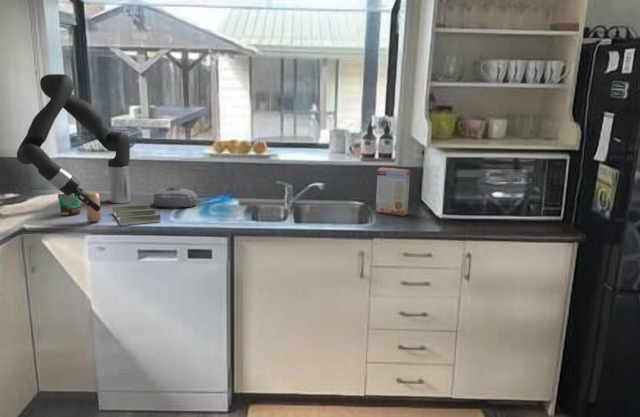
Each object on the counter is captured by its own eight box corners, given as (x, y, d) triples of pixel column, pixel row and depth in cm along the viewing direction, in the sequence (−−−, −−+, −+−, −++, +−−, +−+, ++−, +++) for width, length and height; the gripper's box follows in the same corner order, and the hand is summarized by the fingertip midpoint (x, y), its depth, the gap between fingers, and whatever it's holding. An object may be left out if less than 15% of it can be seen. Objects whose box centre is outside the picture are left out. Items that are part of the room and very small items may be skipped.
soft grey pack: (151, 208, 262) (194, 209, 262) (150, 190, 260) (194, 191, 260) (159, 201, 277) (200, 202, 277) (159, 184, 275) (200, 185, 275)
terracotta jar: (86, 218, 237) (84, 192, 234) (100, 217, 239) (98, 191, 236) (88, 221, 232) (86, 195, 230) (101, 220, 235) (100, 194, 232)
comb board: (112, 213, 250) (112, 207, 249) (149, 210, 257) (149, 204, 256) (120, 225, 232) (120, 218, 231) (160, 221, 239) (160, 214, 238)
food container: (72, 218, 241) (70, 195, 239) (59, 216, 242) (57, 194, 240) (89, 211, 253) (87, 189, 250) (76, 210, 254) (75, 188, 252)
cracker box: (407, 213, 264) (410, 169, 259) (404, 216, 259) (407, 171, 254) (379, 210, 270) (381, 166, 265) (375, 212, 265) (377, 168, 260)
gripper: (72, 177, 221) (107, 205, 230) (69, 171, 234) (102, 197, 242) (59, 192, 220) (94, 219, 229) (56, 185, 233) (89, 211, 241)
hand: (98, 208), depth 235 cm, fingers closed on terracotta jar, 5 cm apart
